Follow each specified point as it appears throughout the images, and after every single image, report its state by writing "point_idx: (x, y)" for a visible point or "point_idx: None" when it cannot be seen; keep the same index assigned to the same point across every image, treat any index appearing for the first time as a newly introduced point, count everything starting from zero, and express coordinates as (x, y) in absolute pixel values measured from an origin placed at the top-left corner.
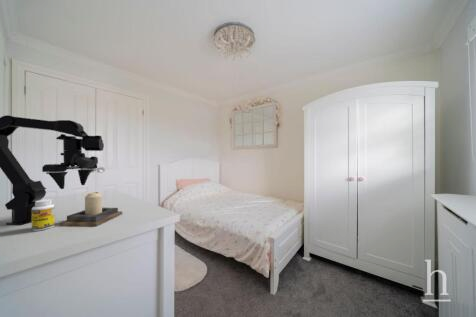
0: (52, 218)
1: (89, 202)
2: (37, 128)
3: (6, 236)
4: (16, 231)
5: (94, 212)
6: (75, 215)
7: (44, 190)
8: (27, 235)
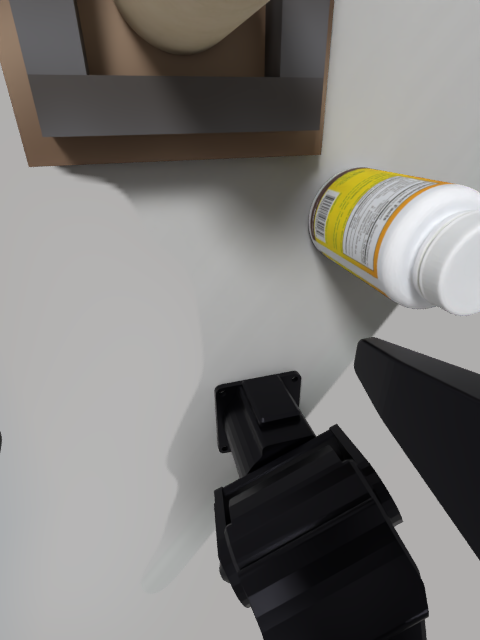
0: (378, 173)
1: None
2: None
3: None
4: (370, 299)
5: None
6: (305, 62)
7: (245, 555)
8: None
